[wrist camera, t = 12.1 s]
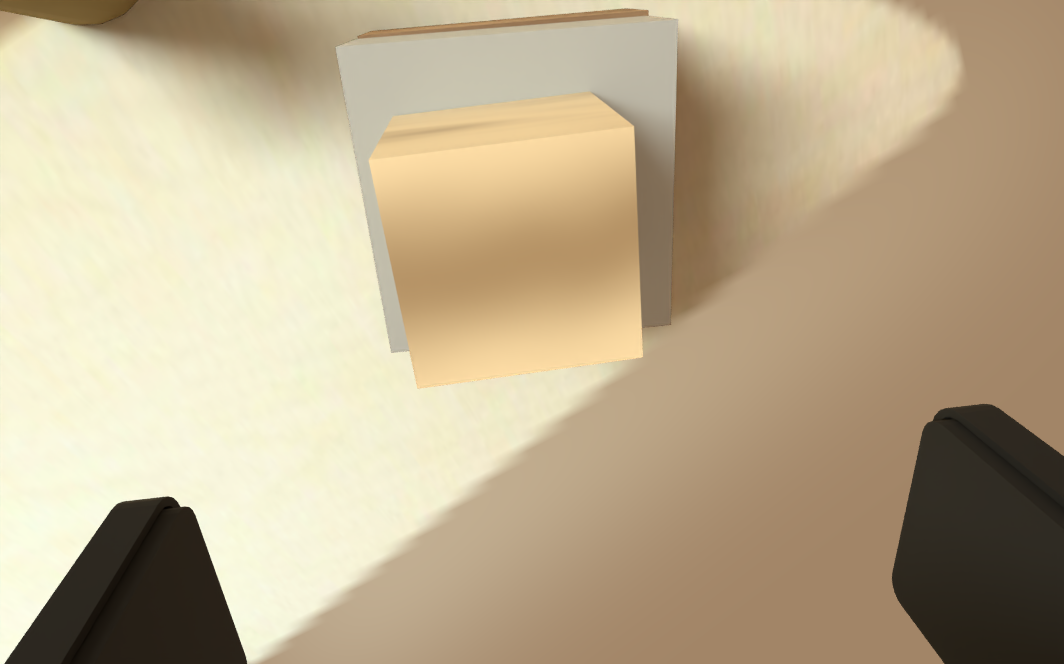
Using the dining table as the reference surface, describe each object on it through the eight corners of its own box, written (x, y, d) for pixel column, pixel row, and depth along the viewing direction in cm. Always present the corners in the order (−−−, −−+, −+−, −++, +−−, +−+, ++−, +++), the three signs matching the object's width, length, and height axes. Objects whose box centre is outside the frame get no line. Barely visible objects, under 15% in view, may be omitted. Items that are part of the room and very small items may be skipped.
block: (601, 274, 23) (642, 357, 18) (427, 297, 23) (417, 388, 18) (589, 91, 21) (634, 126, 15) (392, 116, 21) (368, 160, 15)
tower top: (644, 282, 28) (670, 324, 25) (401, 306, 28) (391, 352, 24) (646, 15, 24) (677, 19, 20) (355, 38, 23) (335, 46, 20)
